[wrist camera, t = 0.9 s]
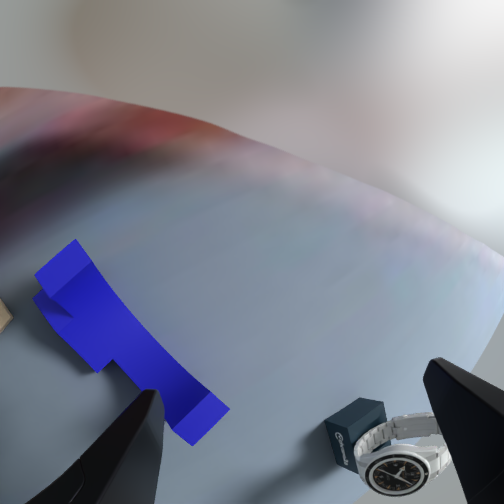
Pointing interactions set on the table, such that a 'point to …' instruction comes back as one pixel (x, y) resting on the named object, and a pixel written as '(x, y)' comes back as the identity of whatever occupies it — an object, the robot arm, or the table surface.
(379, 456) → the watch
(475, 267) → the table surface
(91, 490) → the robot arm
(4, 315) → the pad
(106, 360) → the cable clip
